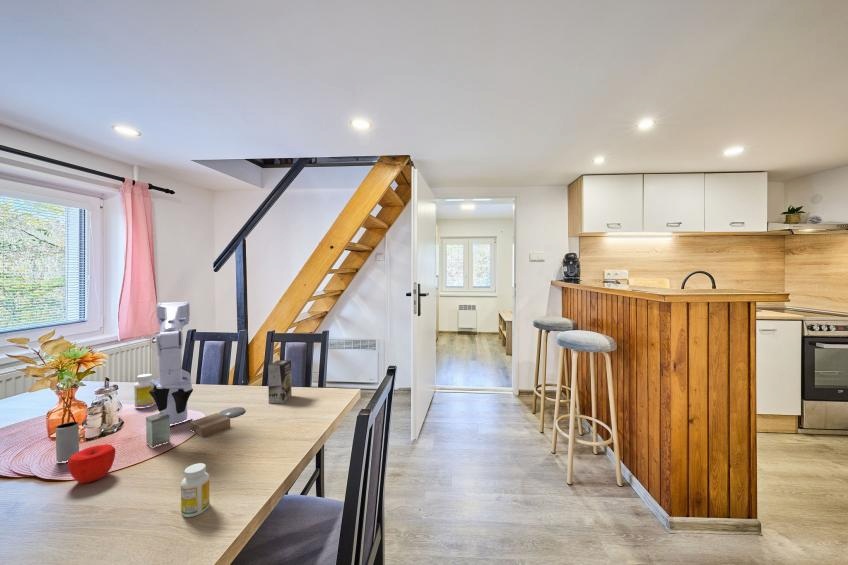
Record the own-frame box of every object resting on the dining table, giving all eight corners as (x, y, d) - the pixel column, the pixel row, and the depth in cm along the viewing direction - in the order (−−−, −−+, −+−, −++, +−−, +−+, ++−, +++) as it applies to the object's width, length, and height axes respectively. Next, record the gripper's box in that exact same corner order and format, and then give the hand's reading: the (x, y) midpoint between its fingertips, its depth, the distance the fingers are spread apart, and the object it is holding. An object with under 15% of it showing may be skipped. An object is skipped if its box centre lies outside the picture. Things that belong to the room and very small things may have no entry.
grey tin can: (82, 457, 99) (81, 422, 99) (62, 465, 95) (61, 429, 94) (73, 454, 100) (72, 420, 100) (52, 462, 96) (51, 427, 96)
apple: (73, 494, 82) (72, 462, 82) (63, 482, 87) (62, 452, 86) (121, 475, 89) (120, 446, 89) (109, 466, 94) (108, 438, 94)
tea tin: (146, 444, 106) (145, 417, 106) (164, 438, 110) (163, 412, 110) (152, 448, 103) (151, 420, 103) (170, 442, 107) (169, 415, 107)
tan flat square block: (189, 430, 115) (189, 421, 115) (217, 420, 123) (217, 412, 123) (202, 437, 111) (202, 428, 111) (230, 426, 118) (230, 418, 118)
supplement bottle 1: (158, 405, 139) (157, 374, 138) (138, 410, 133) (137, 378, 133) (152, 402, 142) (151, 372, 142) (132, 407, 137) (131, 376, 136)
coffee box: (283, 403, 140) (282, 365, 139) (268, 403, 140) (267, 365, 139) (292, 395, 149) (291, 359, 148) (277, 395, 149) (277, 359, 149)
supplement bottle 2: (185, 521, 72) (184, 477, 72) (178, 510, 76) (177, 468, 76) (213, 508, 77) (212, 466, 76) (205, 498, 80) (204, 458, 80)
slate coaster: (213, 414, 128) (213, 413, 128) (237, 407, 136) (237, 405, 136) (225, 420, 124) (225, 418, 124) (249, 411, 131) (249, 410, 131)
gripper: (140, 370, 104) (141, 413, 105) (176, 374, 101) (177, 418, 101) (162, 364, 111) (163, 405, 112) (197, 367, 107) (198, 409, 108)
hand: (171, 411), depth 107 cm, fingers open, 7 cm apart
